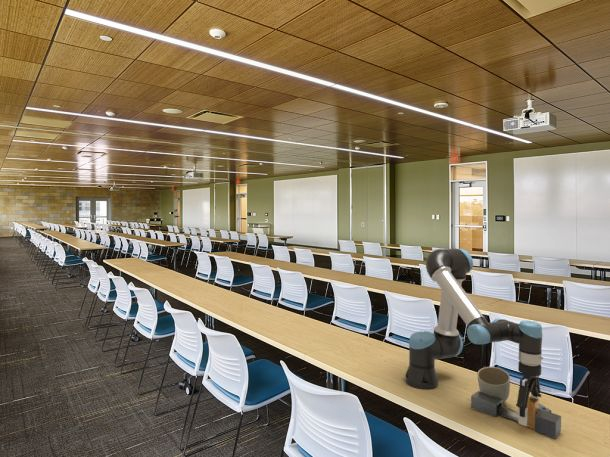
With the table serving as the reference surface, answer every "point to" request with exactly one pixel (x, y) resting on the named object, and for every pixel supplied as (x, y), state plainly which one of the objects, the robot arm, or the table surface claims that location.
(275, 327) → the table surface
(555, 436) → the socket
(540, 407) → the bracket
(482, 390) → the planter
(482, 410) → the grey block
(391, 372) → the table surface
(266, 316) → the table surface
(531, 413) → the orange and grey piece
